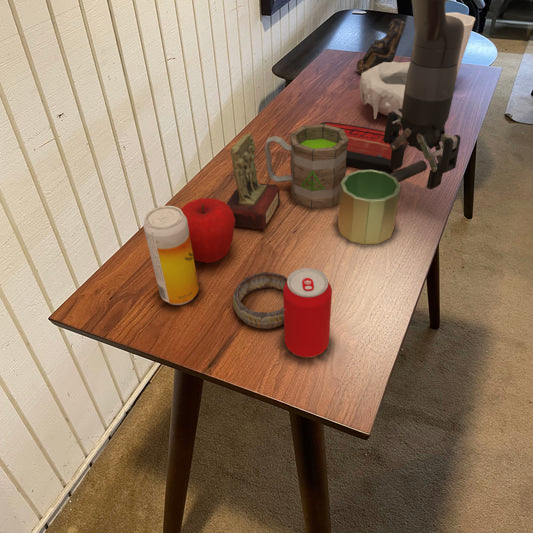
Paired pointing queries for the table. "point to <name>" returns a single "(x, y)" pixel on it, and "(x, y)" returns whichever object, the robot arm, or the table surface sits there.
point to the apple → (209, 228)
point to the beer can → (171, 254)
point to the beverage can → (307, 312)
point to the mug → (313, 164)
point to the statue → (383, 47)
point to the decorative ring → (253, 284)
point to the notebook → (366, 148)
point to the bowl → (384, 86)
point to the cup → (468, 26)
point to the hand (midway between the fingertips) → (413, 177)
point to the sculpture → (250, 189)
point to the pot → (372, 203)
